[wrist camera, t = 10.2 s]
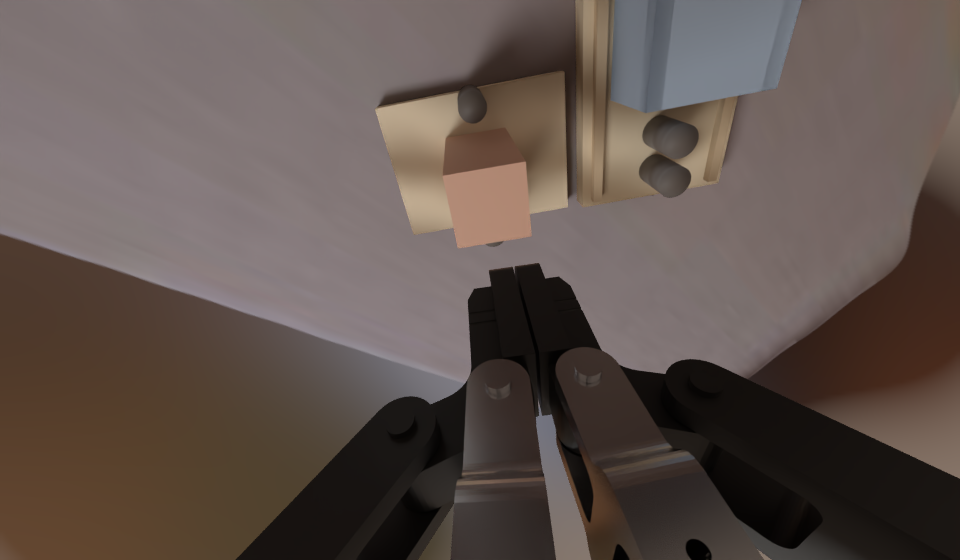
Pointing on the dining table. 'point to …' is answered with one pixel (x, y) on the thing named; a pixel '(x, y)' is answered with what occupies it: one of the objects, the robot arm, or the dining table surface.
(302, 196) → the dining table surface
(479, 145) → the block
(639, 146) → the base
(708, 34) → the cover
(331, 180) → the dining table surface
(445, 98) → the pin seat
